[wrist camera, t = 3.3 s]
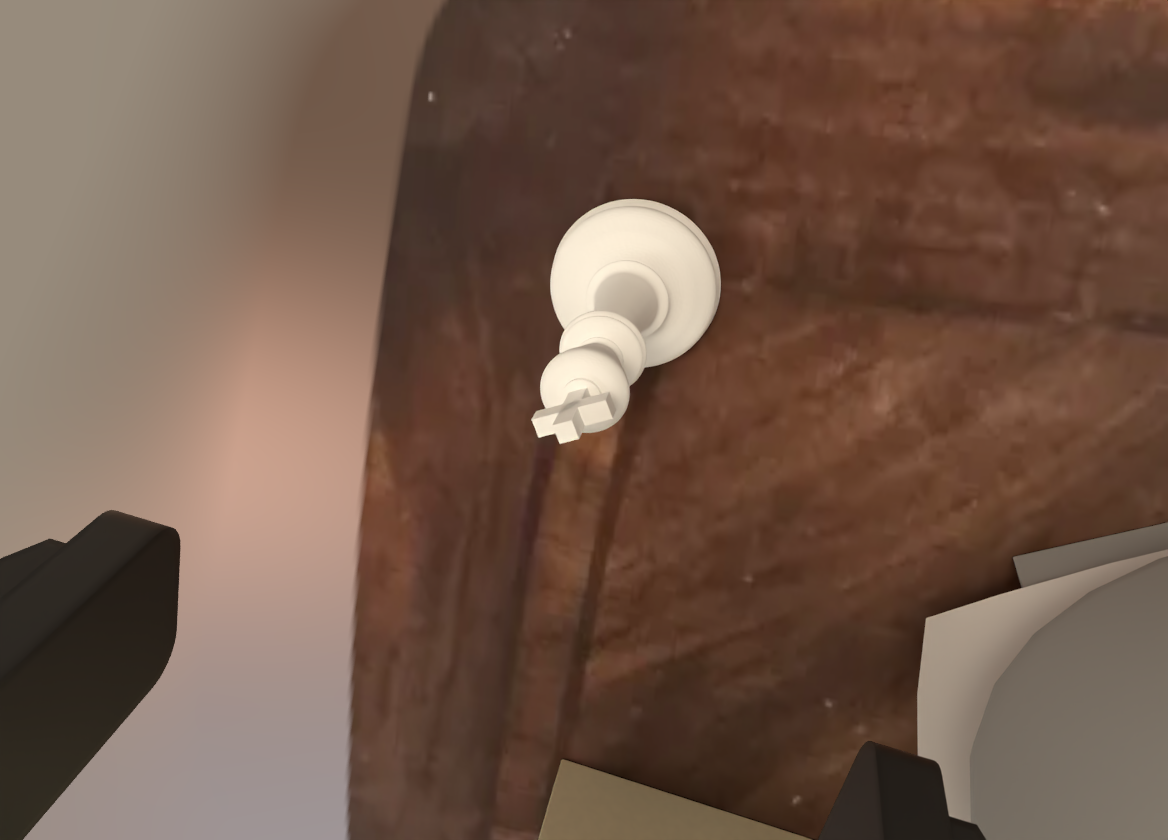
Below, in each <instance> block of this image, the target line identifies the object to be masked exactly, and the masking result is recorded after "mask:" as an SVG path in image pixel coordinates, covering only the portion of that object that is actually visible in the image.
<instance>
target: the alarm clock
mask: <svg viewBox="0 0 1168 840" xmlns="http://www.w3.org/2000/svg"><path fill="white" fill-rule="evenodd" d="M1013 560H1014V563H1015V567H1016V570H1017V574H1018V577H1019V581H1020V584H1021V589H1017V590H1014V591H1010V592H1007V593H1003V594H999V595H996V596H993V597H990V598H987V599H984V600H981V601H978V602H975V603H971V604H968V605H965V606H962V607H959V608H956V609H953V610H950V611H947V612H944V613H941V614H937V615H934V616H931V617H928V618H926V623H925V632H924V640H923V649H922V658H921V666H920V675H919V684H918V692H917V724H918V756H921V757H924V758H928V759H931V760H934V761H936V762H937V763H938V764H939V766H940V769H941V773H942V777H943V783H944V789H945V795H946V801H947V807H948V813H949V816H950V817H954V818H957V819H960V820H963V821H967V822H970V823H973V824H976V825H978V827H979V829H980V830H981V832H982V833H983V835H984V837H985V838H986V840H1168V523H1163V524H1159V525H1154V526H1150V527H1145V528H1141V529H1136V530H1132V531H1127V532H1123V533H1118V534H1114V535H1109V536H1105V537H1100V538H1096V539H1091V540H1087V541H1082V542H1078V543H1073V544H1069V545H1064V546H1060V547H1055V548H1051V549H1046V550H1042V551H1037V552H1033V553H1028V554H1024V555H1019V556H1015V557H1013Z"/></svg>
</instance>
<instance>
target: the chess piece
mask: <svg viewBox="0 0 1168 840" xmlns="http://www.w3.org/2000/svg"><path fill="white" fill-rule="evenodd" d="M550 288H551V297H552V302H553V306H554V309H555V312H556V315H557V317H558V319H559V321H560V323H561V325H562V326H563V328H564V332H563V334H562V337H561V341H560V354H559V355H557V356H556V357H554V358H553V359H552V360H551V361H550V363H549V364H548V365H547V367H546V368H545V370H544V372H543V375H542V378H541V383H540V392H541V398H542V401H543V404H544V406H545V408H546V409H542V410H539V411H536V412H535V414H534V416H533V418H532V422H533V425H534V427H535V430H536V432H537V434H538V437H543V436H547V435H551V434H556V436H557V438H558V441H559V443H560V444H561V443H565V442H569V441H573V440H577V439H579V438H580V436H581V433H582V432H583V433H593V432H599V431H602V430H605V429H607V428H609V427H611V426H613V425H614V424H615V423H616V422H618V421H619V420H620V418H621V417H622V416H623V414H624V413H625V411H626V409H627V406H628V403H629V397H630V388H629V386H631V385H632V384H633V383H634V382H635V381H636V380H637V379H638V378H639V377H640V375H641V374H642V372H643V370H644V368H645V367H652V366H657V365H660V364H664V363H666V362H669V361H671V360H673V359H675V358H677V357H679V356H681V355H682V354H684V353H685V352H686V351H688V350H689V349H690V348H691V347H692V346H693V345H694V344H695V343H696V342H697V341H698V340H699V339H700V338H701V336H702V335H703V334H704V332H705V331H706V330H707V328H708V327H709V325H710V323H711V322H712V320H713V318H714V315H715V313H716V310H717V307H718V303H719V299H720V292H721V276H720V269H719V265H718V261H717V258H716V255H715V253H714V250H713V248H712V246H711V244H710V243H709V241H708V239H707V238H706V236H705V235H704V234H703V232H702V231H701V230H700V229H699V228H698V227H697V226H696V225H695V224H694V223H693V222H692V221H691V220H690V219H689V218H687V217H686V216H685V215H683V214H682V213H680V212H678V211H677V210H675V209H673V208H671V207H669V206H666V205H664V204H661V203H658V202H654V201H649V200H642V199H624V200H617V201H613V202H609V203H606V204H603V205H601V206H598V207H596V208H594V209H592V210H591V211H589V212H587V213H586V214H584V215H583V216H582V217H581V218H579V219H578V220H577V221H576V222H575V223H574V224H573V225H572V226H571V227H570V229H569V230H568V231H567V232H566V234H565V235H564V237H563V239H562V240H561V242H560V244H559V246H558V249H557V251H556V254H555V258H554V262H553V266H552V271H551V280H550Z"/></svg>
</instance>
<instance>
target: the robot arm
mask: <svg viewBox="0 0 1168 840" xmlns="http://www.w3.org/2000/svg"><path fill="white" fill-rule="evenodd" d="M179 565H180V538H179V534H178V532H177V531H176V529H174V528H171V527H168V526H164V525H161V524H158V523H155V522H151V521H148V520H145V519H142V518H138V517H135V516H132V515H128V514H125V513H122V512H119V511H114V510H110V511H107V512H105V513H102V514H101V515H100V516H98V517H97V518H96V519H95V520H93V522H91V523H90V524H89V525H87V526H86V527H85V528H84V529H83V530H81V531H80V532H79V533H78V534H77V535H76V536H74V537H73V538H72V539H71V540H70V541H68V542H67V543H62V542H59V541H56V540H53V539H48V540H45V541H43V542H41V543H38V544H36V545H33V546H30V547H28V548H25V549H23V550H20V551H18V552H16V553H13V554H11V555H8V556H6V557H3V558H1V559H0V840H23V839H24V837H25V836H26V835H27V834H28V833H29V832H30V830H31V829H32V828H33V827H34V826H35V824H36V823H37V822H38V821H39V820H40V819H41V818H42V816H43V815H44V814H45V813H46V812H47V810H48V809H49V808H50V807H51V806H52V805H53V804H54V802H55V801H56V800H57V799H58V797H59V796H60V795H61V794H62V793H63V792H64V791H65V790H66V788H67V787H68V786H69V785H70V784H71V782H72V781H73V780H74V779H75V778H76V777H77V775H78V774H79V773H80V772H81V771H82V769H83V768H84V767H85V766H86V765H87V764H88V763H89V761H90V760H91V759H92V758H93V757H94V755H95V754H96V753H97V752H98V751H99V750H100V749H101V747H102V746H103V745H104V744H105V742H106V741H107V740H108V739H109V738H110V737H111V736H112V734H113V733H114V732H115V731H116V730H117V729H118V727H119V726H120V725H121V724H122V723H123V722H124V720H125V719H126V718H127V717H128V716H129V715H130V713H131V712H132V711H133V710H134V709H135V708H136V706H137V705H138V704H139V703H140V702H141V700H142V699H143V698H144V697H145V696H146V695H147V694H148V692H149V691H150V690H151V689H152V688H153V686H154V685H155V684H156V682H157V681H158V679H159V678H160V676H161V675H162V673H163V671H164V669H165V667H166V665H167V663H168V661H169V658H170V656H171V653H172V650H173V646H174V643H175V638H176V631H177V611H178V588H179ZM818 840H986V838H985V837H984V835H983V833H982V832H981V830H980V829H979V827H978V825H976V824H973V823H970V822H967V821H963V820H960V819H957V818H954V817H950V816H949V813H948V807H947V801H946V795H945V789H944V783H943V777H942V773H941V769H940V766H939V764H938V763H937V762H936V761H934V760H931V759H928V758H924V757H921V756H918V755H915V754H911V753H908V752H905V751H901V750H898V749H895V748H891V747H888V746H885V745H881V744H878V743H875V742H872V741H867V742H866V743H865V744H864V745H863V746H862V747H861V749H860V750H859V752H858V754H857V756H856V758H855V761H854V763H853V765H852V767H851V769H850V771H849V773H848V776H847V778H846V780H845V782H844V784H843V786H842V788H841V791H840V793H839V795H838V797H837V799H836V801H835V803H834V806H833V808H832V810H831V812H830V814H829V816H828V818H827V821H826V823H825V825H824V827H823V829H822V831H821V834H820V836H819V839H818Z"/></svg>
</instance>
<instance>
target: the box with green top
mask: <svg viewBox="0 0 1168 840" xmlns="http://www.w3.org/2000/svg"><path fill="white" fill-rule="evenodd" d="M538 840H812V839H809V838H806V837H803V836H800V835H797V834H794V833H791V832H788V831H784V830H781V829H778V828H775V827H772V826H769V825H766V824H763V823H760V822H757V821H753V820H750V819H747V818H744V817H741V816H738V815H735V814H732V813H729V812H726V811H722V810H719V809H716V808H713V807H710V806H707V805H704V804H701V803H698V802H695V801H691V800H688V799H685V798H682V797H679V796H676V795H673V794H670V793H667V792H664V791H660V790H657V789H654V788H651V787H648V786H645V785H642V784H639V783H636V782H632V781H629V780H626V779H623V778H620V777H617V776H614V775H611V774H608V773H605V772H601V771H598V770H595V769H592V768H589V767H586V766H583V765H580V764H577V763H574V762H570V761H567V760H564V759H562V760H561V763H560V766H559V770H558V773H557V776H556V780H555V783H554V786H553V790H552V793H551V797H550V800H549V804H548V807H547V810H546V814H545V817H544V821H543V824H542V828H541V831H540V835H539V838H538Z"/></svg>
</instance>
